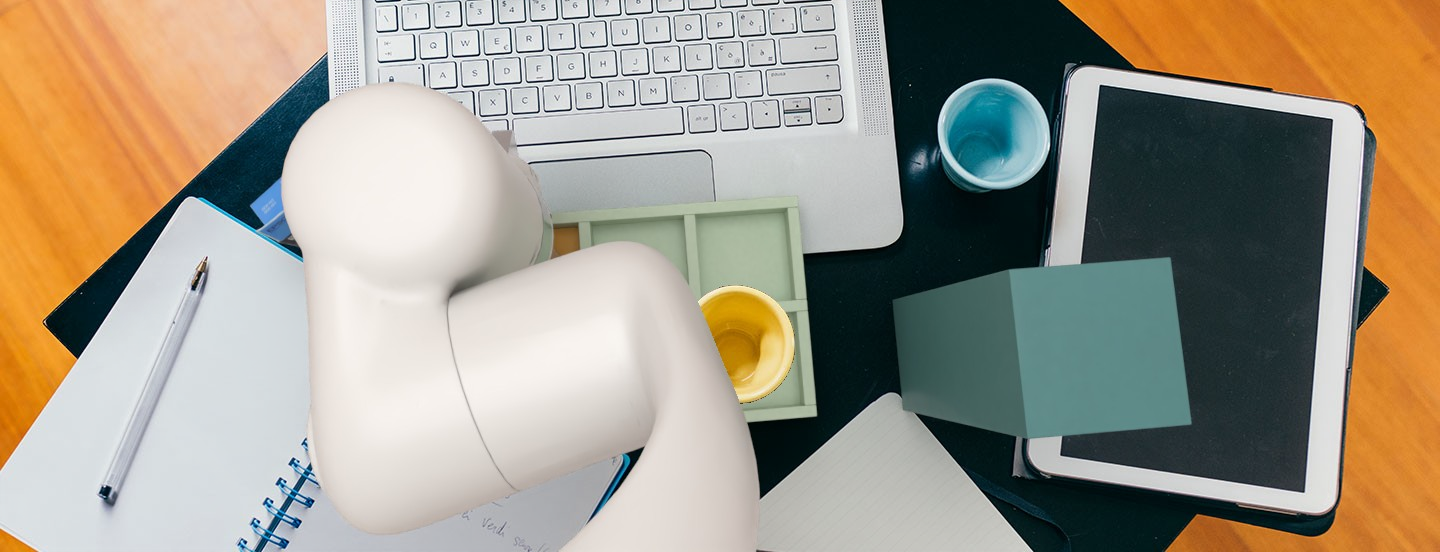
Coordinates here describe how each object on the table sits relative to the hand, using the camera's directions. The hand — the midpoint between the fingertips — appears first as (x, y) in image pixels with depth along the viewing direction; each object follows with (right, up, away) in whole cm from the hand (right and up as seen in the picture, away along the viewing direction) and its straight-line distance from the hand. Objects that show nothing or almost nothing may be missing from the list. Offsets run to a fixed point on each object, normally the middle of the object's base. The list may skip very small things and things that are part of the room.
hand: (531, 271), depth 58 cm
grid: (+7, -3, +4) cm, 9 cm away
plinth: (+30, -6, +5) cm, 30 cm away
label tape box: (-12, +5, +4) cm, 14 cm away
